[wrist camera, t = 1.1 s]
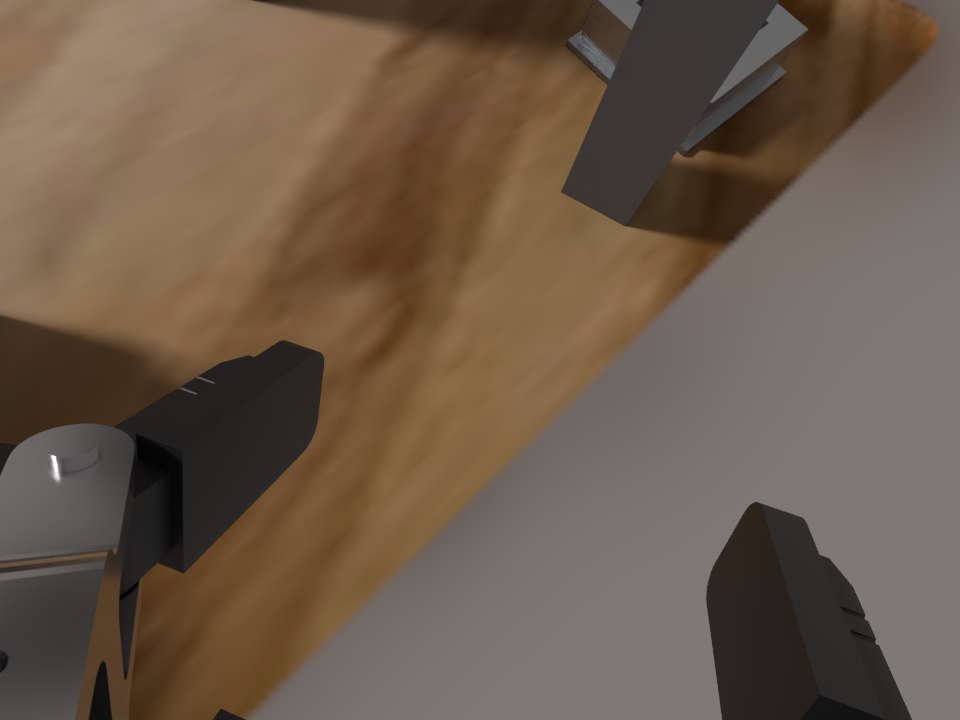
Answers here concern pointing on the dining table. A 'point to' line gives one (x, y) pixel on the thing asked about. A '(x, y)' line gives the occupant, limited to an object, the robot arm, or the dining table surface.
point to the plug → (659, 96)
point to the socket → (747, 80)
